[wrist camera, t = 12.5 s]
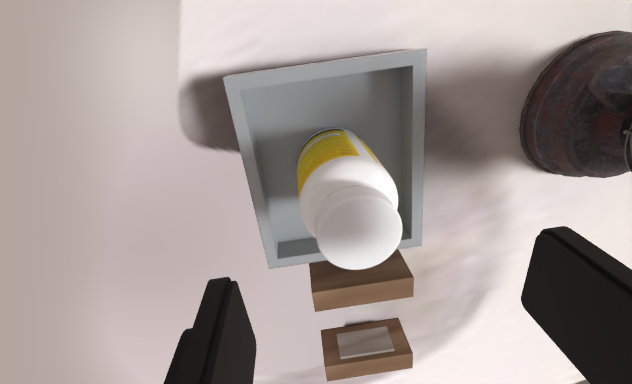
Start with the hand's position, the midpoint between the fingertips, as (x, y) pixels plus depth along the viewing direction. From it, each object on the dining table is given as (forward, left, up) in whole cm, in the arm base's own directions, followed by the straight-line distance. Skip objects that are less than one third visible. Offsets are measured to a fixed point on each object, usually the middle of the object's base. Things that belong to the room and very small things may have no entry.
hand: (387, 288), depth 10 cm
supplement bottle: (+1, 0, -14) cm, 14 cm away
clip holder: (+15, +1, -15) cm, 21 cm away
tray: (+1, 0, -15) cm, 15 cm away
